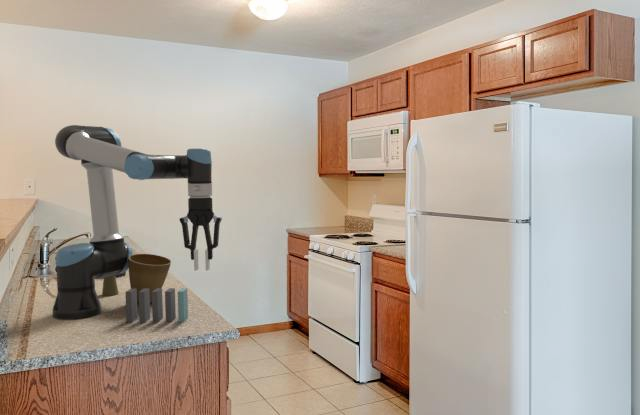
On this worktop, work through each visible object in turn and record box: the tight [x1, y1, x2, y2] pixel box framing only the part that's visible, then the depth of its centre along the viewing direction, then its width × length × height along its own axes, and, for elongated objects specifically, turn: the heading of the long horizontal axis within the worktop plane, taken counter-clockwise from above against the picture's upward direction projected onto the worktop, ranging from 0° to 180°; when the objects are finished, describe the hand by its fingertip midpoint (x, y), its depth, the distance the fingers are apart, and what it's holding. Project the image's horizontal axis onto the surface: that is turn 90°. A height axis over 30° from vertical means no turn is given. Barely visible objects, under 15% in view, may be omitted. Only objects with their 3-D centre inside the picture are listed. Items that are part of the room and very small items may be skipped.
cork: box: [101, 276, 119, 297], centre depth 207 cm, size 6×6×11 cm
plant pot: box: [128, 253, 172, 305], centre depth 193 cm, size 15×15×16 cm
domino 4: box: [164, 287, 177, 323], centre depth 170 cm, size 2×5×10 cm, turn 0°
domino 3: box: [151, 287, 164, 324], centre depth 170 cm, size 2×5×10 cm, turn 0°
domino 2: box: [138, 288, 151, 324], centre depth 171 cm, size 2×5×10 cm, turn 0°
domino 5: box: [177, 287, 189, 323], centre depth 170 cm, size 2×5×10 cm, turn 0°
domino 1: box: [124, 288, 138, 324], centre depth 171 cm, size 2×5×10 cm, turn 0°
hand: (202, 269), depth 170 cm, fingers open, 3 cm apart
